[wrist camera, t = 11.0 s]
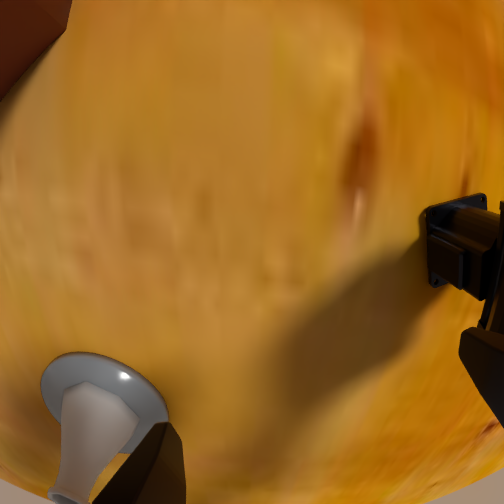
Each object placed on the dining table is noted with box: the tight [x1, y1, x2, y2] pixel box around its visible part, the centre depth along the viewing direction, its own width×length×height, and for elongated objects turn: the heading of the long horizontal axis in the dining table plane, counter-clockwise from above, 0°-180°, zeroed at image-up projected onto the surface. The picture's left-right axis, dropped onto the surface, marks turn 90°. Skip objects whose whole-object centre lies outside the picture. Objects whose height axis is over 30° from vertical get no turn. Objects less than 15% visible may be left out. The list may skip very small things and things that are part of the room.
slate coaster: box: [41, 352, 169, 453], centre depth 23 cm, size 12×12×1 cm
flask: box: [48, 381, 140, 504], centre depth 17 cm, size 7×7×10 cm
